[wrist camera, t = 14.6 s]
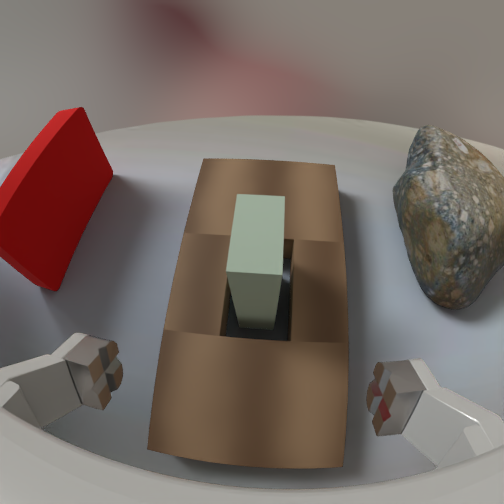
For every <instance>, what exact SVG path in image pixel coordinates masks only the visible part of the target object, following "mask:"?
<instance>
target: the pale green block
mask: <svg viewBox="0 0 504 504" xmlns="http://www.w3.org/2000/svg"><path fill="white" fill-rule="evenodd" d="M284 213H285V196H269V195H249V194H237V198H236V205H235V212H234V218H233V225H232V232H231V239H230V246H229V253H228V260H227V267H226V274H227V278H228V282H229V286H230V290H231V295H232V299H233V303H234V307H235V311H236V315H237V319H238V323H239V327H240V328H253V329H267V330H274V324H275V318H276V312H277V306H278V299H279V293H280V287H281V280H282V271H283V245H284Z"/></svg>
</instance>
